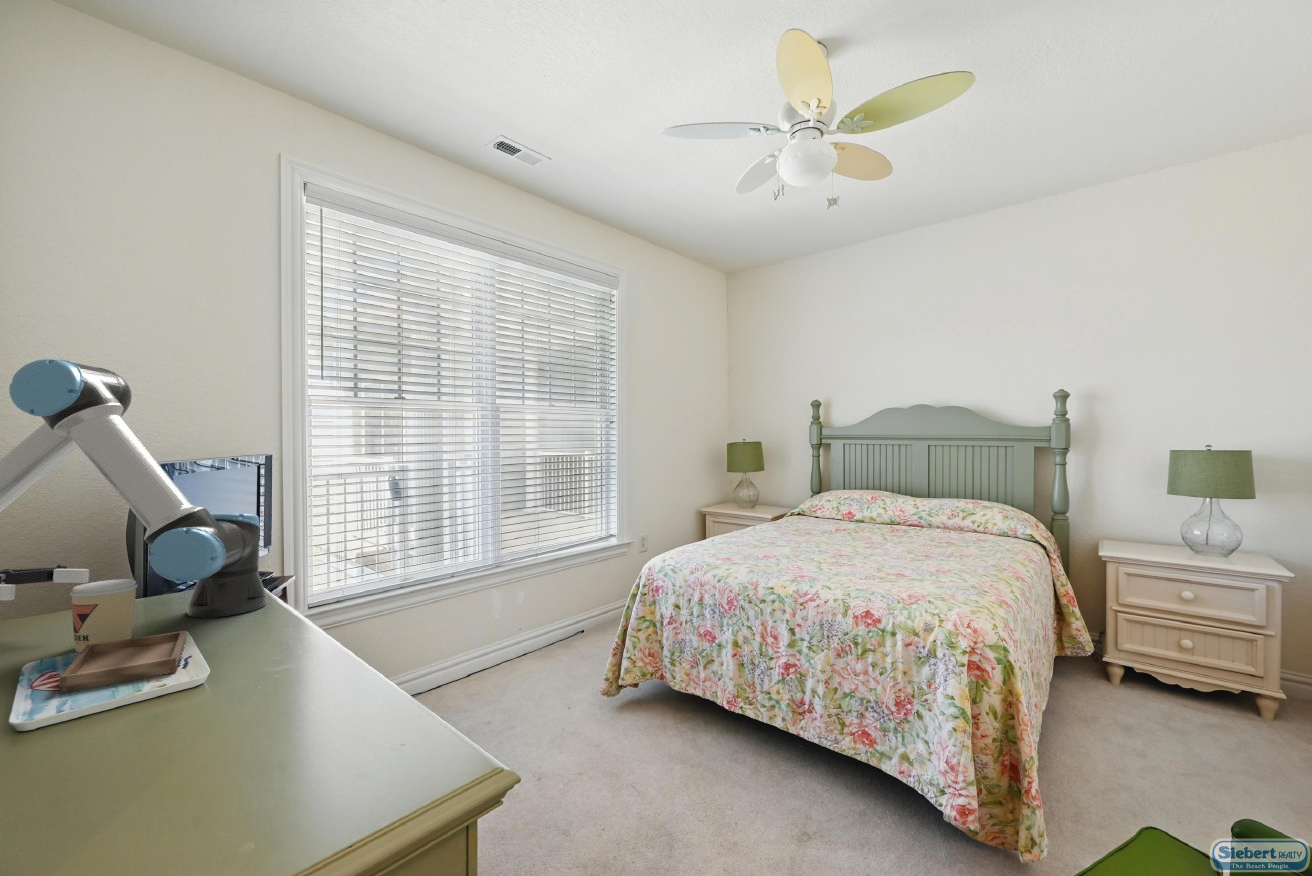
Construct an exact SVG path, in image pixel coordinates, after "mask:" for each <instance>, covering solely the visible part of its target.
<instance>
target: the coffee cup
mask: <svg viewBox="0 0 1312 876" xmlns="http://www.w3.org/2000/svg"><path fill="white" fill-rule="evenodd" d="M137 588H138V583H137V582H136V580H135V579H129V578H125V579H124V578H122V579H121V578H120V579H119V578H118V579H107V580H99V581H93V582H87V583H81V584H79V585H76V586H73V588H72V590H71V591H70V596H71V610H72V611H71V612H72V625H73V638H74V641H73V642H74V649H75V652H77V653H81V651H82V650H83V649H84V648H85V647H86V645H91V644H98V643H105V642H112V641H119V640H125V639H132V629H133V623H134V622H133V621H134V613H135V604H136V596H137V595H136V594H137Z"/></svg>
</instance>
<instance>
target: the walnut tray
mask: <svg viewBox="0 0 1312 876" xmlns="http://www.w3.org/2000/svg"><path fill="white" fill-rule="evenodd" d="M185 642H186V643H187V630H181V631H175V632H167V633H161V634H154V635H149V636H148V635H147V636H139V637H134V638H132V637H131V639H125V640H119V641H112V642H105V643H98V644H91V645H86V647H85V648H84V649H83V650H82V651H81V652H79V654H78V655H77V656H76V657H75V658H74V660H73V661H72V662H71V663H70V665H69V666H68V667H67V668H66V669H65V670H64V671H63V673H62V674H61V675H60V676H59V679H58V693H59V692H65V693H71V692H76V691H81V690H82V691H83V690H87V689H88V690H89V689H93V688H97V687H98V688H99V687H104V686H108V685H114V684H120V683H126V682H132V681H137V680H143V679H149V678H154V677H153V676H155V677H157V676H156V675H160V676H163V675H162V674H166V675H168V674H167V673H171V674H176V673H177V671H178V667H179V665H180V662H181V659H182V656H183V653H184V650H185V647H184V645H185ZM185 646H186V645H185ZM183 649H184V650H183ZM182 652H183V653H182ZM181 655H182V656H181ZM180 658H181V659H180ZM179 661H180V662H179ZM178 664H179V665H178ZM175 672H176V673H175ZM148 677H149V678H148ZM70 691H71V692H70Z"/></svg>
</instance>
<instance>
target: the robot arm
mask: <svg viewBox="0 0 1312 876" xmlns="http://www.w3.org/2000/svg"><path fill="white" fill-rule="evenodd" d="M12 376H13V377H12V380H11V383H9V387H8V388H9V390H8V391H9V392H8V393H9V397H10V399H11V401H12V403H13V404H14V406H15V407H16V408H18V409H19V410H20V411H22V412H24V413H26V414H28V415H31V416H34V417H41V418H42V420H43V421H44V422H43V424H41V425H40V426H39V427H38V428H37V429H35V430H34V431H33V432H31V434H29V435H28V436H27V437H25V438H24V439H23V440H22V441H21V442H20V443H18V444H17V445H16V446H15V447H14V448H12V449H11V450H10V451H9V452H7V453H6V454H4V456H3V457H1V458H0V513H1V512H2V511H4V510H5V509H6V508H7V507H8V506H10V505H11V503H13V502H14V501H16V500H17V499H18V498H19V497H20V496H21V495H23V493H25V492H26V491H28V490H29V489H30V488H31V487H32V486H33V485H35V483H37V482H38V481H39V480H41V479H42V478H43V477H44V476H46V474H48V473H49V472H50V471H51V470H53V468H54V467H56V466H57V465H58V464H60V463H61V462H62V461H63V460H64V459H66V458H67V457H68V456H69V455H71V454H72V453H73V452H74V451H76V449H78V448H79V449H80V450H81V452H83V454H84V455H85V457H87V458H88V460H89V461H90V462H91V463H92V464H93V465H94V466H95V468H96V470H98V471H99V473H100V474H101V475H102V477H103V478H104V479H105V480H106V481H107V483H109V485H110V486H111V487H112V488H113V489H114V491H115V492H116V494H117V495H118V496H119V497H120V498H121V500H123V502H124V503H125V504H126V505H127V506H128V508H129V509H130V510H131V511H132V513H133V514H134V515H135V517H137V518H138V519H139V521H140V522H141V523H142V525H143V526H144V527H145V528H146V531H145V534H144V537H143V539H144V541H145V542H146V543H147V545H148V546H149V552H150V554H149V555H148V559H149V563H150V566H151V567H152V569H153V570H154V571H155V573H156V574H158V575H159V576H160V577H163V578H164V579H166V580H170V581H172V582H177V583H190V582H194V581H197V582H196V584H195V587H194V589H193V591H192V593H191V597H190V599H189V601H188V603H187V612H186V613H187V616H188V617H193V618H199V619H200V618H205V619H206V618H218V617H226V616H236V615H238V614H244V613H249V612H252V611H256V610H258V609H261V608H263V607H265V606H266V605H267V593H266V589H265V587H264V585H263V582H262V580H261V577H260V574H259V566H260V565H259V564H260V563H259V561H260V559H259V558H260V532H261V531H260V530H261V526H260V517H259V516H258V515H257V514H254V513H210V511H208V509H207V508H206V507H205V506H197V505H193V504H192V503H191V502H190V500H188V498H187V497H186V496H185V495H184V493H183V492H182V490H180V488H179V487H178V486H177V485H176V483H174V481H173V480H172V479H171V477H170V476H169V475H168V473H167V472H166V471H165V470H164V469H163V468H162V466H161V465H160V464H159V462H158V461H157V460H156V459H155V458H154V457H153V455H152V454H151V453H150V451H148V449H147V448H146V447H145V445H144V444H143V442H142V441H140V439H139V438H138V437H137V436H136V434H135V433H134V432H133V430H131V428H130V427H129V425H128V424H127V423H126V422H125V421H124V420H123V418H122V417H123V416H124V414H125V413H126V412H127V411H128V409H129V407H130V406H131V402H132V399H133V398H132V397H133V396H132V391H131V388H130V385H129V384H128V382H127V381H126V380H125V379H124V378H123V377H122V376H121V375H119V374H118V373H116V372H114V371H111V370H109V369H106V368H102V367H99V366H98V367H96V366H91V365H88V364H87V365H86V364H81V363H77V362H72V361H70V360H66V359H53V358H52V359H51V358H47V359H46V358H45V359H44V358H42V359H38V360H34V361H31V362H28V363H26V364H25V365H23V366H21V367H20V368H19V369H18V370H16V372H15V373H14V375H12ZM89 578H90V568H89V569H87V568H68V566H64V565H63V566H62V564H57V565H56V566H52V567H51V566H50V567H35V568H33V567H32V568H18V569H17V568H13V569H12V568H5V569H1V570H0V601H13V600H15V597H16V585H25V584H26V585H27V584H28V585H29V584H37V583H38V584H39V583H45V582H46V583H47V582H53V583H55V584H56V583H61V584H62V583H63V584H64V583H69V584H71V583H74V584H87V583H90V581H89ZM2 583H4V584H2Z"/></svg>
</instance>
